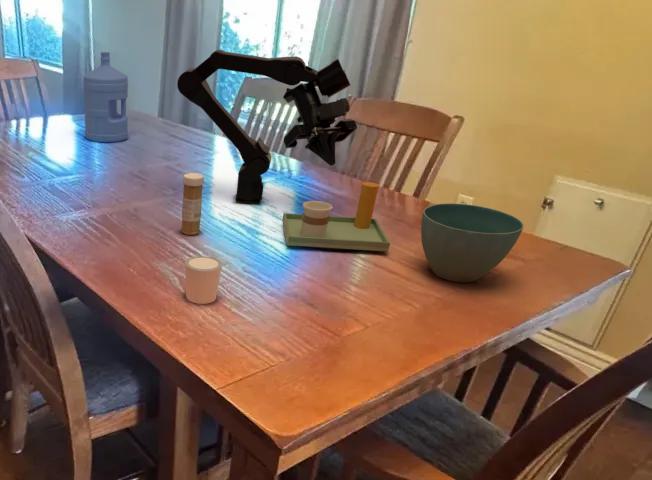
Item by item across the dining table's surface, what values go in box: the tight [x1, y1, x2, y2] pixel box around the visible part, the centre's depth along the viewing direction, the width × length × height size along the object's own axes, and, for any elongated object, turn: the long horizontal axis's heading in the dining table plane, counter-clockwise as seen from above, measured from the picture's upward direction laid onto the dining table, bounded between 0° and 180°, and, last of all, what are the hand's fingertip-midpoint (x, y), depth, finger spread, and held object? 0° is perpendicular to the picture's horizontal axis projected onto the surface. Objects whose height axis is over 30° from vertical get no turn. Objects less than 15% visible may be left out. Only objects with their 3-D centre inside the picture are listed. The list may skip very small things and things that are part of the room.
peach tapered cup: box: [184, 255, 223, 305], centre depth 114 cm, size 7×7×7 cm
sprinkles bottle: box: [180, 172, 205, 236], centre depth 141 cm, size 5×5×14 cm
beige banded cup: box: [300, 200, 333, 238], centre depth 138 cm, size 6×6×7 cm
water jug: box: [82, 51, 129, 143], centre depth 216 cm, size 16×16×28 cm
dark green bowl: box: [420, 202, 525, 283], centre depth 124 cm, size 18×18×12 cm
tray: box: [281, 181, 391, 252], centre depth 139 cm, size 22×16×11 cm
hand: (332, 164), depth 147 cm, fingers closed
